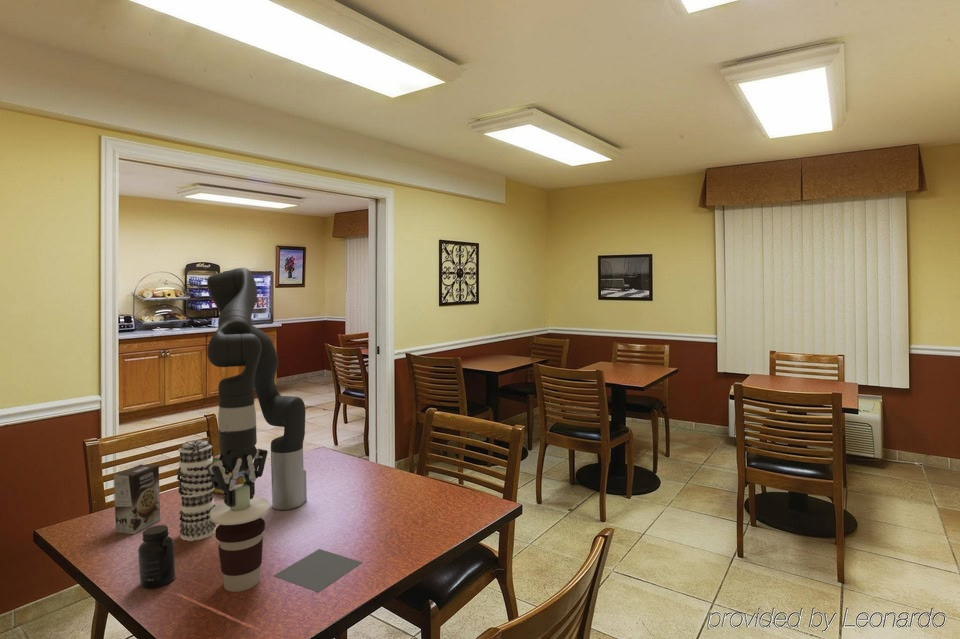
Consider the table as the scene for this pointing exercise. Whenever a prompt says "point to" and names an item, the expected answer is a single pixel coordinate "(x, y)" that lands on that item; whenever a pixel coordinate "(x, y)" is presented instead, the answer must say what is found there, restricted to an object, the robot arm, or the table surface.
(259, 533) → the coffee cup
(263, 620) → the table surface
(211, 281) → the robot arm
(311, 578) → the mat
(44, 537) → the table surface
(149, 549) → the supplement bottle
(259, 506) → the lid
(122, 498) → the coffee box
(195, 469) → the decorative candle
